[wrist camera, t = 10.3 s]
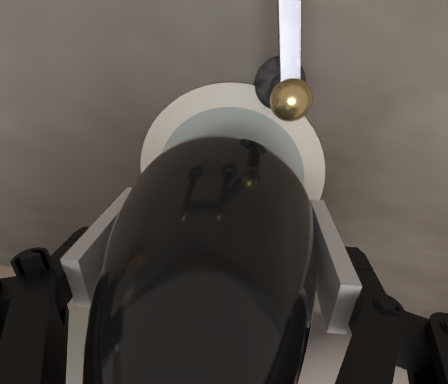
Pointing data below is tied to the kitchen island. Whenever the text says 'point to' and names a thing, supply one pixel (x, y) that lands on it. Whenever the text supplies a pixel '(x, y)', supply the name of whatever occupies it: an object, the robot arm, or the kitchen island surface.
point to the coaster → (238, 128)
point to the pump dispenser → (206, 271)
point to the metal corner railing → (285, 69)
